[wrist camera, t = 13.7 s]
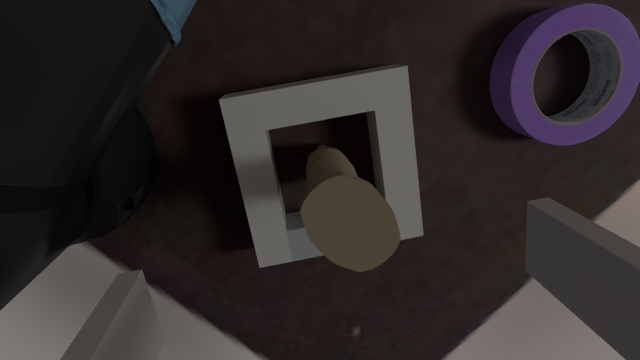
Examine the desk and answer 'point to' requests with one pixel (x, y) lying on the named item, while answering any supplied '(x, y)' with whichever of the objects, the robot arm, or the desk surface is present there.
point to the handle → (346, 213)
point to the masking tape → (603, 82)
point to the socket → (313, 105)
